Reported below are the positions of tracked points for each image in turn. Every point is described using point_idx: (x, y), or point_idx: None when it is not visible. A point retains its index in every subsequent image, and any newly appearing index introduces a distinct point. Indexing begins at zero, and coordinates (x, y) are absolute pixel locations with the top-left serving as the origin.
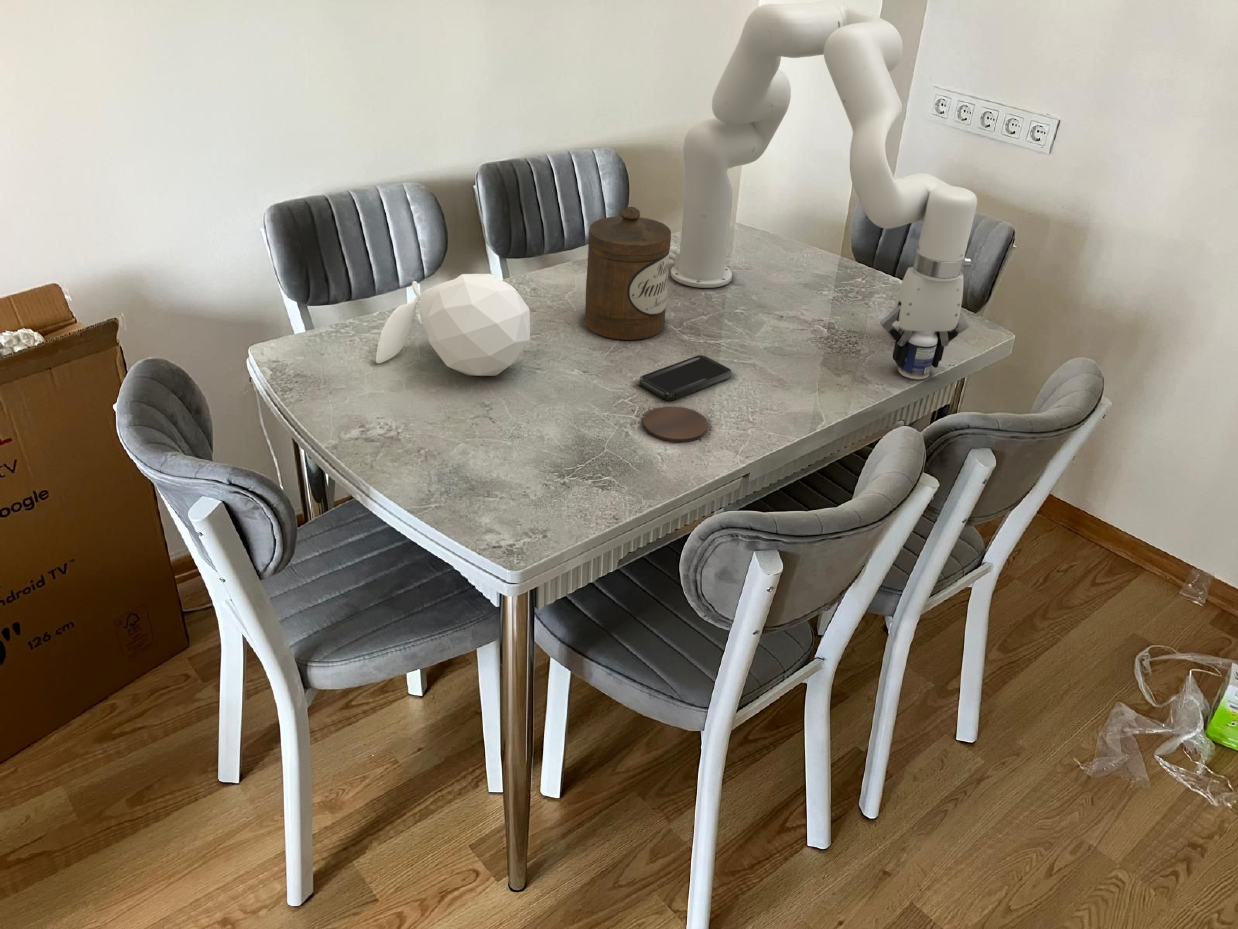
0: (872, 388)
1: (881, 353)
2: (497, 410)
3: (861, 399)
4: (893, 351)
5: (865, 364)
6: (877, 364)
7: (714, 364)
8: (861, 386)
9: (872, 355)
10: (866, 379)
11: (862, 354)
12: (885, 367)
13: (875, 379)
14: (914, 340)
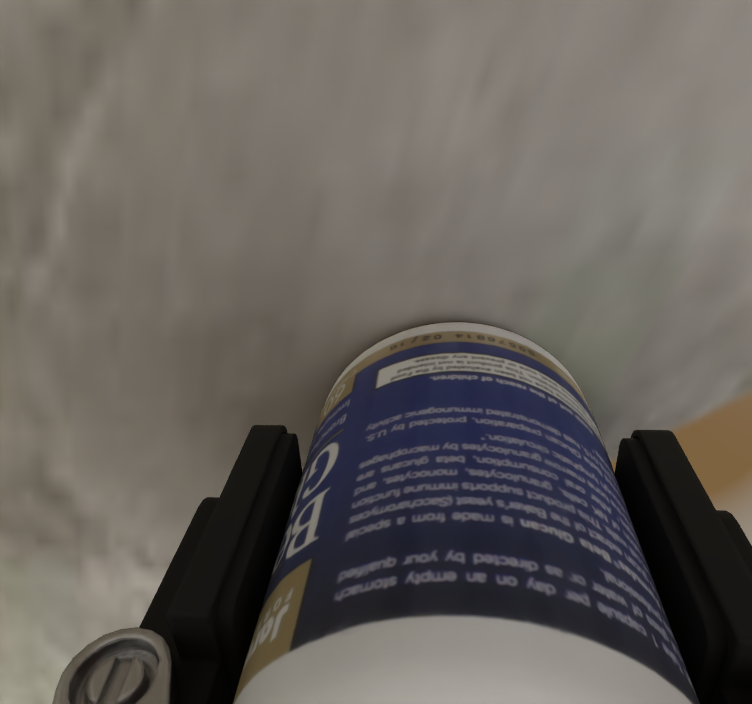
0: (111, 600)
1: (227, 11)
2: None
3: (51, 684)
4: (186, 536)
5: (55, 287)
6: (163, 283)
7: None
8: (43, 580)
9: (121, 78)
10: (72, 508)
11: (14, 59)
12: (230, 337)
13: (134, 508)
14: None
